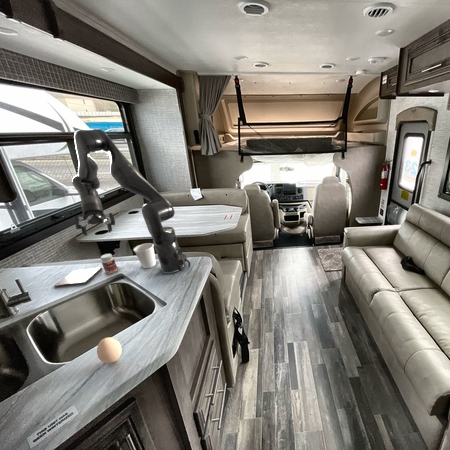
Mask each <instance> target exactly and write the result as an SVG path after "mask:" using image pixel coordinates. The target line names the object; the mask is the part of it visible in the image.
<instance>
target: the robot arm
mask: <svg viewBox="0 0 450 450" xmlns="http://www.w3.org/2000/svg"><path fill="white" fill-rule="evenodd" d="M73 138H74V145H75V150H76V155H77V160H78V167H77V168H78V169H77V171H78V172H77V175H74V176H73V178H72V180H71V182H72V186H73V188H74V189H75V190H76V192H77V193H78V195H79V198H80V204H81V205H80V207H81V210H82V214H83V215H82V216H79V215H75V216H74V225H75V229H76V230H81V232H82V235H84V236H85V237H86V236H88V232H87V228H88V227H89V226H90V225H100V224H102V225H104V226H107V227H106V228H107V232H108V233H111V232H113V227H112V226H115V225H116V220H115V218H114V214H113V213H112V212H109V213H107V214H105V213H104V209H103V204H102V201H101V200H100V195H99V192H98V189H99V188H100V186H101V182H100V179H99V178H98V177H99V176H98V170H99V165H98V163H97V162H96V160H95V159H94V158H92V157H91V156H90V153H98V152H105V153H106V154H107V155H108V156H109V159H110V160H109V161H110V164H109V169H110V170H109V172H110V175H111V177H112V178H113V179H114V180H115V181H116V182H117V183H118V184H119V186H121V188H123V189H125V190H127V191H129V192H130V193H133V194H135V195H138V196H140V197H143V198H144V199H146V200H147V201H148V202H147V203H145V204H143V205H142V207H141V214H142V217H143V220H144V222H145V225H146V228H147V230H148V232H149V234H150V236H151V239H152V242H153V245H154V246H153V247H154V250H155V252H156V255H157V258H158V261H159V265H160V269H161V272H162V274H166V275H169V274H175V273H177V272H181V271H182V270H183V268H184V267H185V265H186V262H187V264H188V265H187V267H188V268H191V262H190V260H189V259H188V258H187V253H183V250H182V248H181V246H179V243H178V239H177V234H176V231H175V228H174V227H173V226H163V224H162V223H163V222H165V221H168V220H170V219H173V218H174V216H175V213H176V212H175V209H174V207H173V205H172V204H171V203H170V201H169V200H168V199H167V198H166V197H165V196H164V195H162V193H160V192H159V191H158V190H157V189H156V188H155V187H153V186H152V185H151V183H150V182H149V181H148V180H147V179H146V178H145V177H144V176H143V175H142V174H141V172H140V171H139V170H138V169H137V168H136V167H135V166H134V165H133V164H132V163H131V162H130V161H129V160H128V159H127V157H126V156H125V155H124V154H123V153H122V151H120V150H119V148H118V146H117V145H116V144H115V142H114V141H113V139H111V137H110V136H109V135H108V134H107V133H106V131H104V130H103V129H100V128H88V129H78V130H76V131H75V132H74V136H73ZM82 221H83V222H82ZM81 222H82V224H80V223H81Z"/></svg>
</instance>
